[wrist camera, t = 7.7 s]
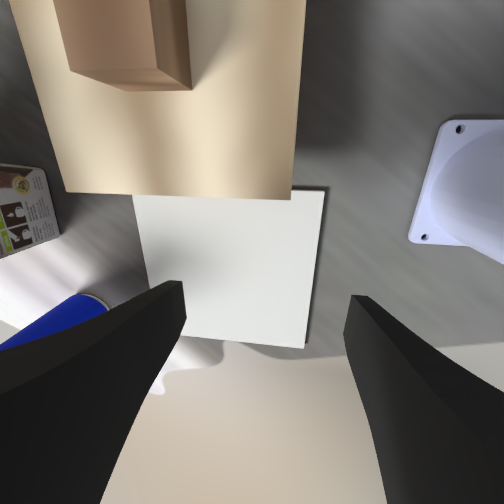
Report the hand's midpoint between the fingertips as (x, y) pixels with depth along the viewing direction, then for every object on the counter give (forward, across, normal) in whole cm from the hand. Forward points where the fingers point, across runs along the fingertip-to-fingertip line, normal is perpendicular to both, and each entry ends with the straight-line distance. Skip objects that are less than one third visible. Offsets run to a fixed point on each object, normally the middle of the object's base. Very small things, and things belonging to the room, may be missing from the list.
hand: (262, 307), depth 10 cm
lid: (+6, +6, -11) cm, 14 cm away
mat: (+10, +4, +4) cm, 11 cm away
